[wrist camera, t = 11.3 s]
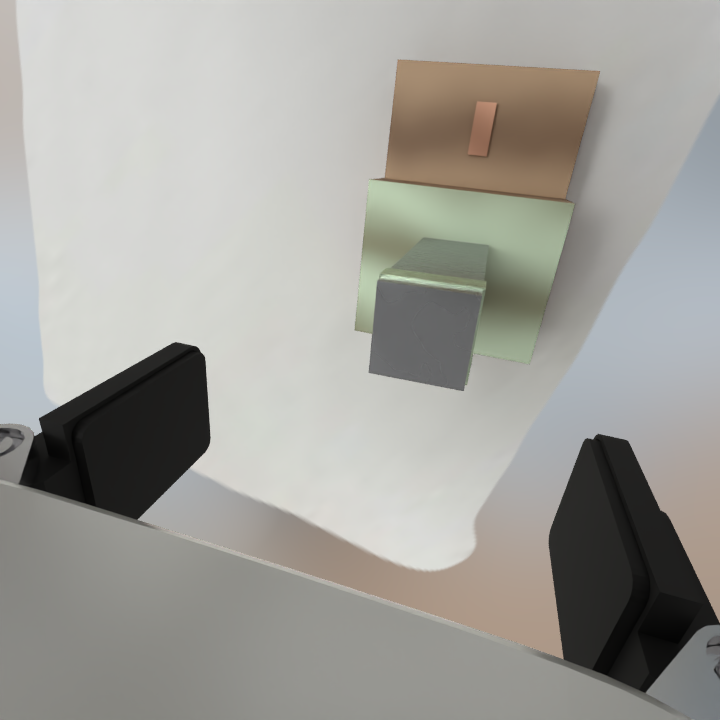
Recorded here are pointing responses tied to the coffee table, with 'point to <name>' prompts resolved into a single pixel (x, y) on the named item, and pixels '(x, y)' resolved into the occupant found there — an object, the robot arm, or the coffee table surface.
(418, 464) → the coffee table surface
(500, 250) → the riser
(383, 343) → the column
